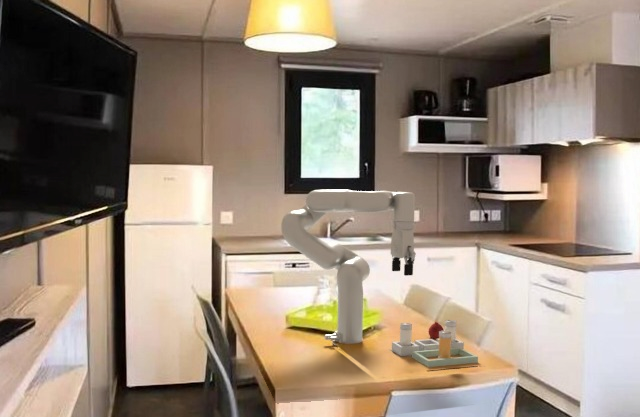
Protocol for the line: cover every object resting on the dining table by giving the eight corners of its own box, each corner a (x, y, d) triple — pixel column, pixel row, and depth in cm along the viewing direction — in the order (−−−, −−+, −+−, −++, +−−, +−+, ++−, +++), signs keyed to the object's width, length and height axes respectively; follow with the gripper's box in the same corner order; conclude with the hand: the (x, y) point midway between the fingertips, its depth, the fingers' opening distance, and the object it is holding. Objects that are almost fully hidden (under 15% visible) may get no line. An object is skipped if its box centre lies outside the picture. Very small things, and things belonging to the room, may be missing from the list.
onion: (444, 340, 239) (445, 320, 238) (442, 344, 233) (443, 323, 233) (429, 338, 241) (430, 318, 240) (427, 342, 235) (427, 321, 235)
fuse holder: (400, 361, 210) (400, 348, 210) (389, 353, 219) (389, 341, 219) (466, 355, 219) (466, 343, 219) (452, 348, 227) (453, 336, 227)
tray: (427, 371, 200) (428, 360, 200) (411, 361, 210) (412, 351, 210) (477, 366, 206) (478, 356, 206) (459, 357, 216) (460, 347, 216)
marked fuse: (442, 363, 205) (443, 334, 205) (435, 359, 209) (436, 331, 209) (452, 362, 207) (453, 333, 206) (446, 359, 211) (447, 330, 210)
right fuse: (447, 350, 219) (448, 323, 219) (441, 347, 223) (442, 320, 222) (457, 349, 220) (458, 322, 220) (451, 346, 224) (452, 319, 224)
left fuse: (402, 354, 213) (403, 326, 213) (397, 351, 217) (398, 323, 217) (413, 353, 215) (413, 325, 214) (407, 350, 218) (408, 322, 218)
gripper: (383, 224, 229) (382, 269, 229) (405, 228, 212) (403, 277, 213) (401, 224, 231) (400, 269, 232) (424, 228, 215) (422, 276, 216)
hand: (402, 273), depth 223 cm, fingers open, 9 cm apart
